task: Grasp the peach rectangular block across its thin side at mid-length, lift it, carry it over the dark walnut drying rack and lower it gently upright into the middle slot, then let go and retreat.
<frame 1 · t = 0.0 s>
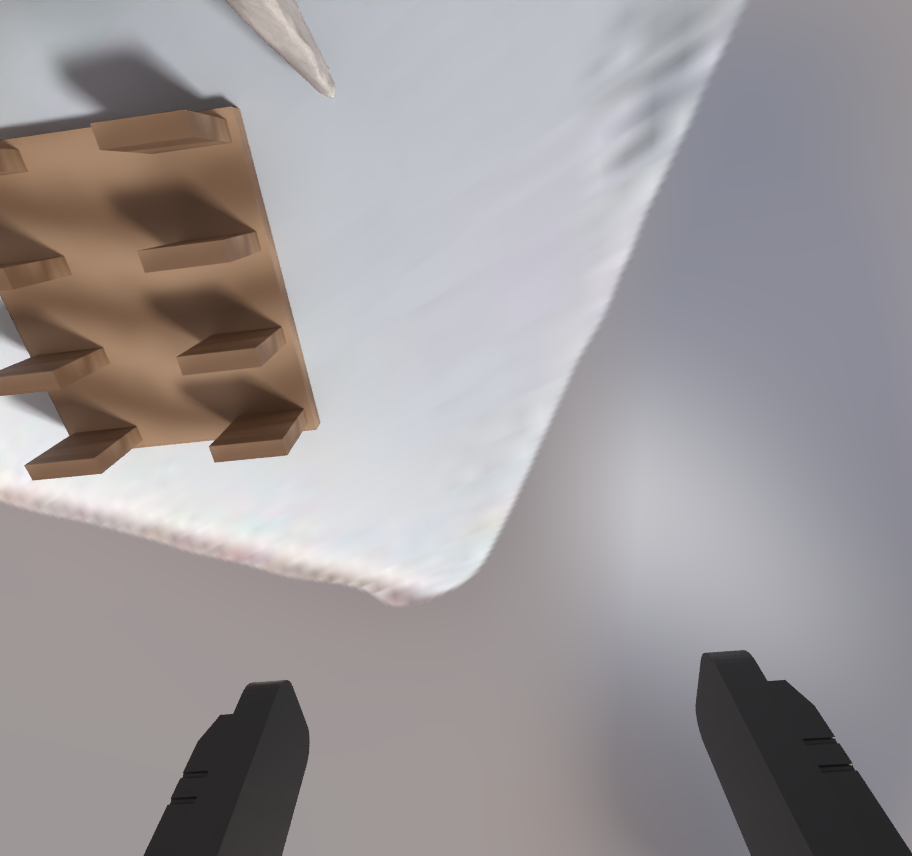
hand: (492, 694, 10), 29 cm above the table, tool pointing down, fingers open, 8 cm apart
drying rack: (153, 301, 36), on the table
stone tool: (298, 27, 30), on the table
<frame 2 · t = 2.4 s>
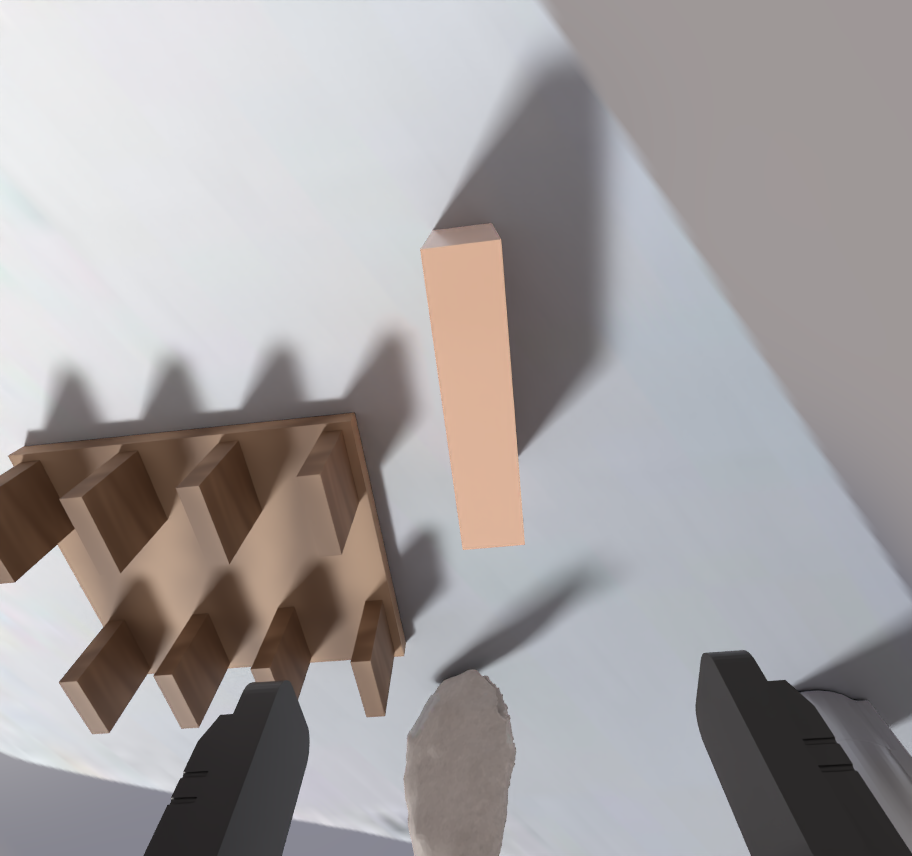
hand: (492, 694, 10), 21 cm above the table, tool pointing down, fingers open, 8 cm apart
peach rectangular block: (476, 357, 29), on the table
drying rack: (232, 553, 36), on the table
stone tool: (459, 678, 41), on the table
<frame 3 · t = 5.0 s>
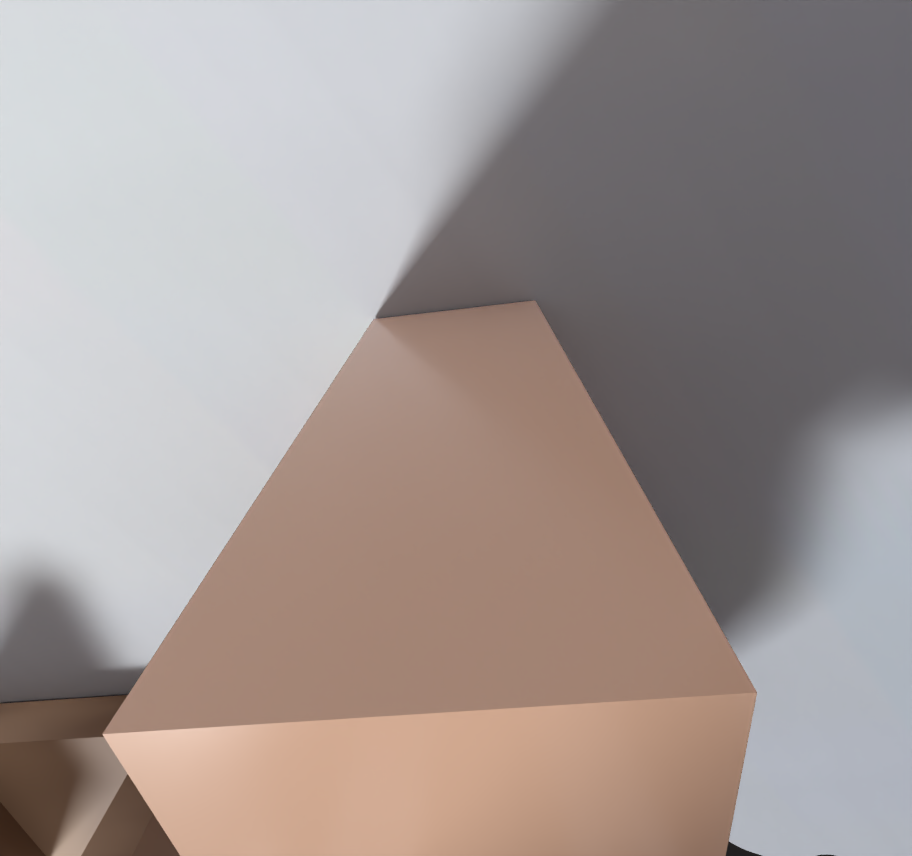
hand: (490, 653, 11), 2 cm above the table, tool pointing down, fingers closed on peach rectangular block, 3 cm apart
peach rectangular block: (488, 596, 13), on the table, touching gripper
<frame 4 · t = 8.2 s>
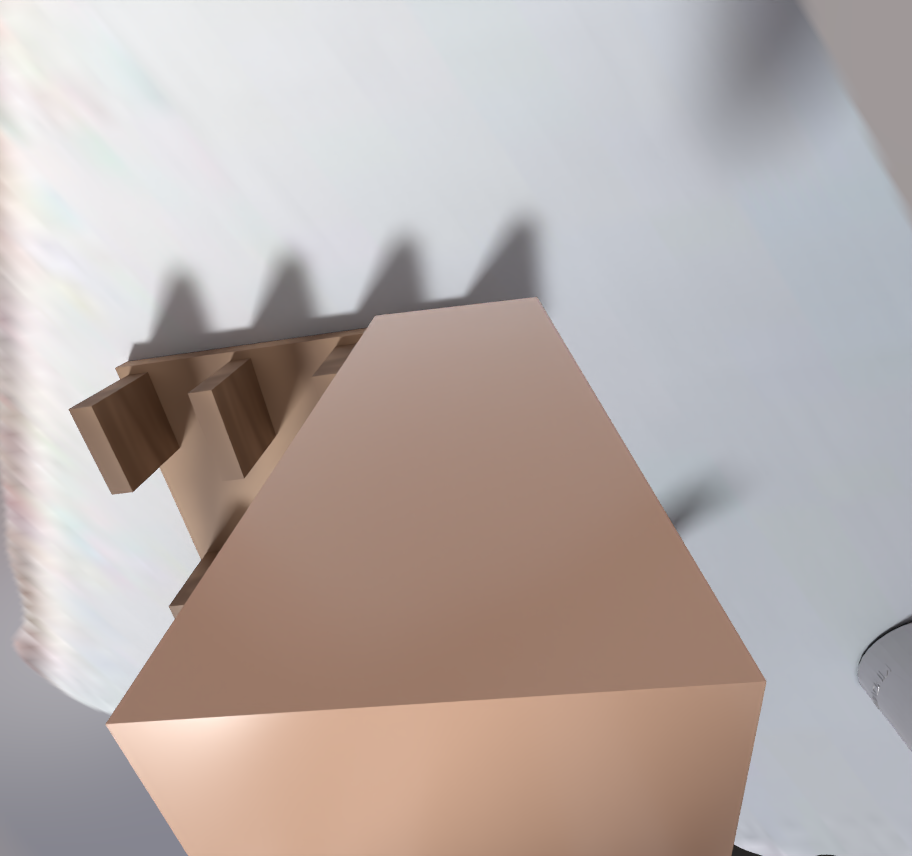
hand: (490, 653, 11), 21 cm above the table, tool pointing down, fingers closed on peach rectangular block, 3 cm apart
peach rectangular block: (489, 594, 13), point 20 cm above the table, touching gripper
drying rack: (336, 477, 34), on the table
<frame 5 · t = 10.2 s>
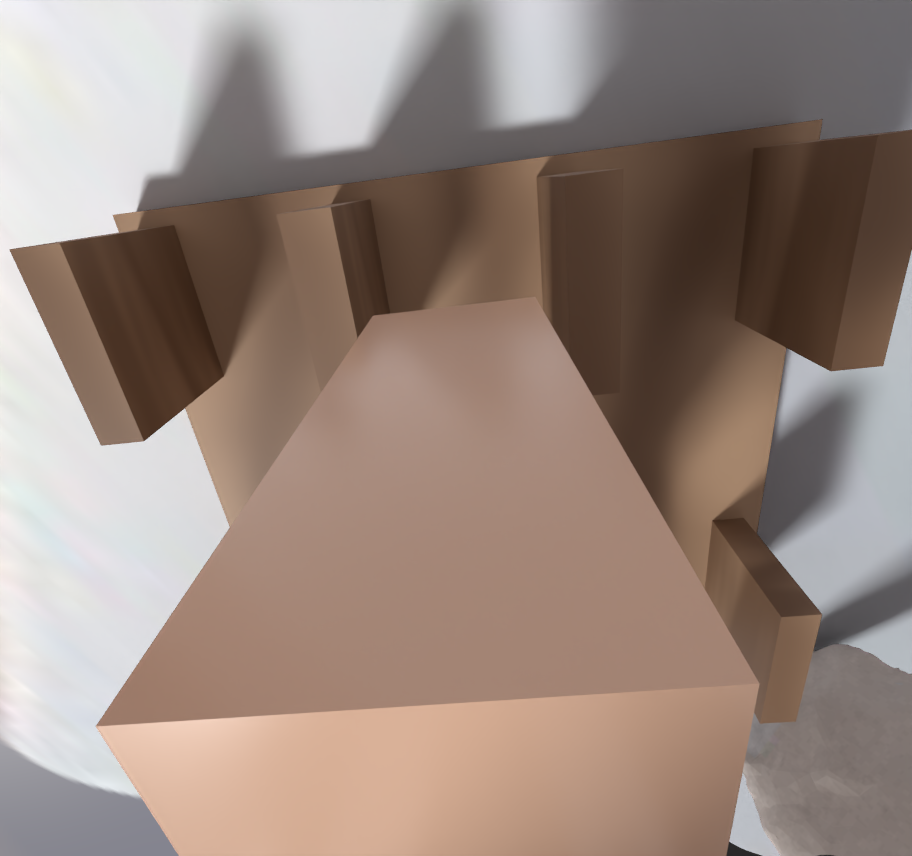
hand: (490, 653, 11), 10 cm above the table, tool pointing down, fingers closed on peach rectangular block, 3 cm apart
peach rectangular block: (488, 594, 13), point 9 cm above the table, touching gripper
drying rack: (481, 437, 20), on the table
stone tool: (791, 660, 26), on the table
when the fingers open (4 cm above the table, at t = 11.9 s): peach rectangular block drops 1 cm, resting on drying rack.
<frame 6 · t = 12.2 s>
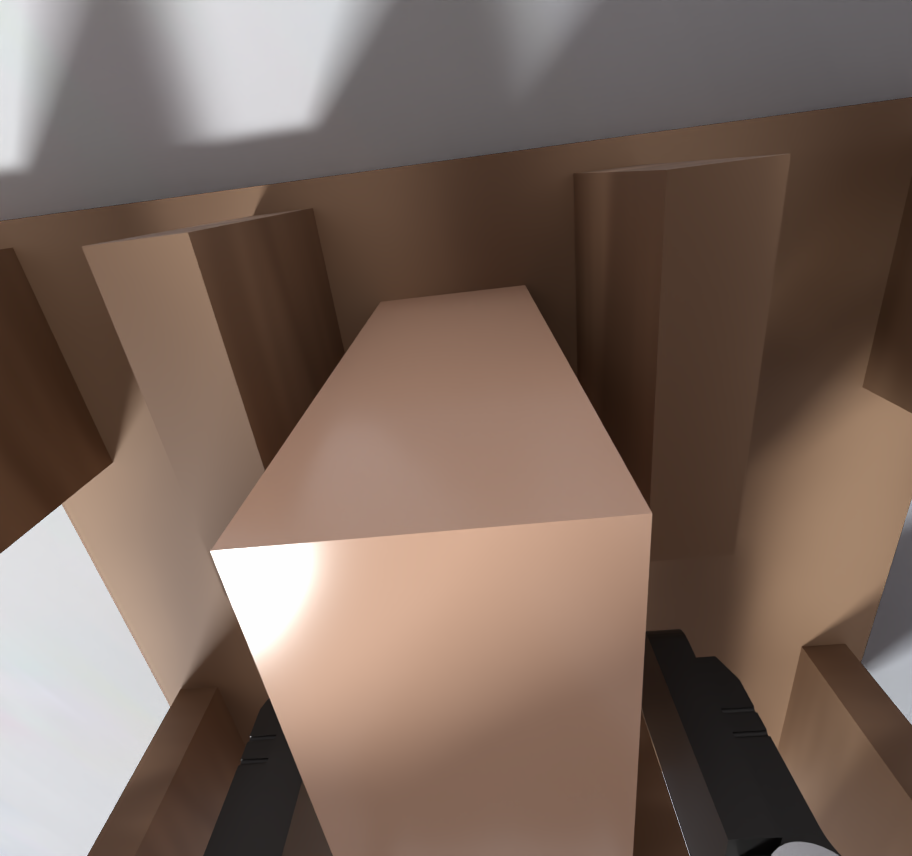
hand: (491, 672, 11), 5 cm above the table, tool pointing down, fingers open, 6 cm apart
peach rectangular block: (483, 560, 14), point 1 cm above the table, touching drying rack
drying rack: (484, 534, 15), on the table
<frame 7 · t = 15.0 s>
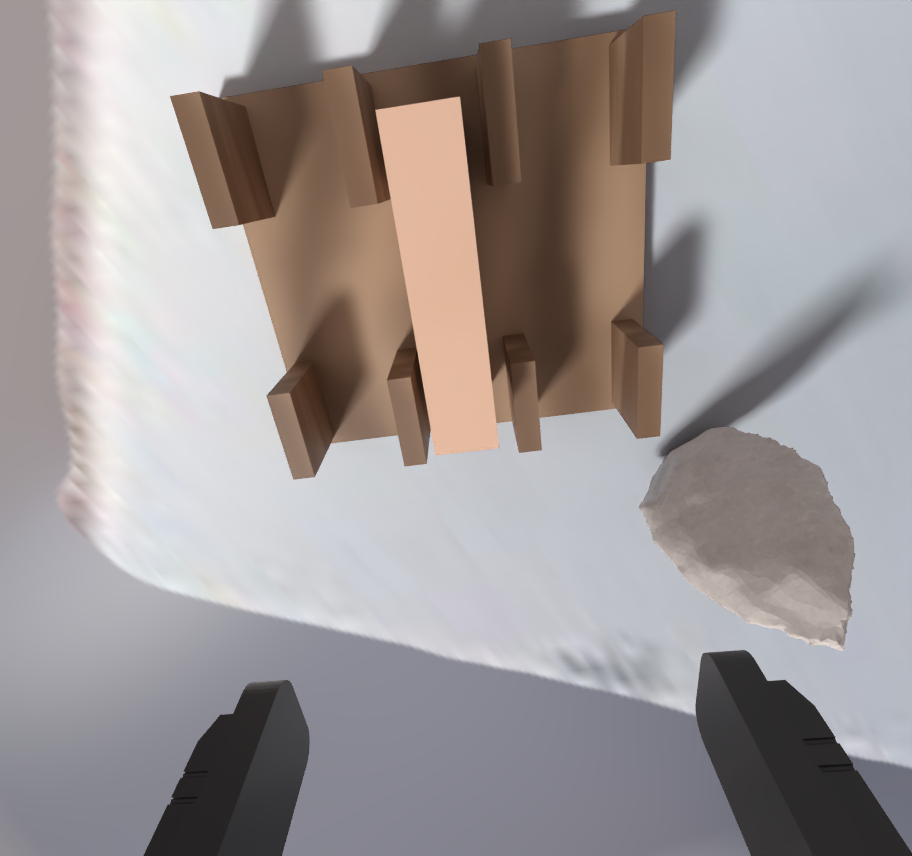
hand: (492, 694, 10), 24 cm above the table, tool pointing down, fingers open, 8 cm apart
peach rectangular block: (449, 270, 28), point 1 cm above the table, touching drying rack
drying rack: (450, 267, 29), on the table
stone tool: (686, 451, 35), on the table
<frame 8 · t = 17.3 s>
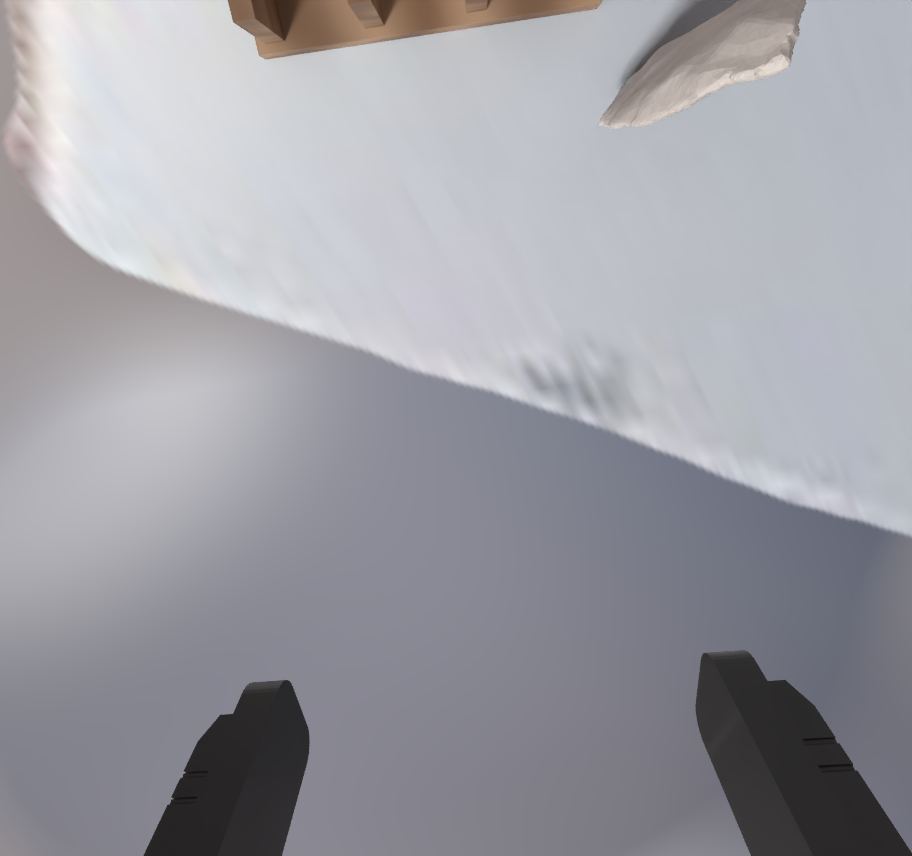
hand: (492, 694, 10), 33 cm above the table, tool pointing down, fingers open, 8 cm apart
stone tool: (650, 87, 34), on the table
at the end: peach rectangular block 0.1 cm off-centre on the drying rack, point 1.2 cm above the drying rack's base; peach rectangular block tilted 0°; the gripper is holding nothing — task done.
